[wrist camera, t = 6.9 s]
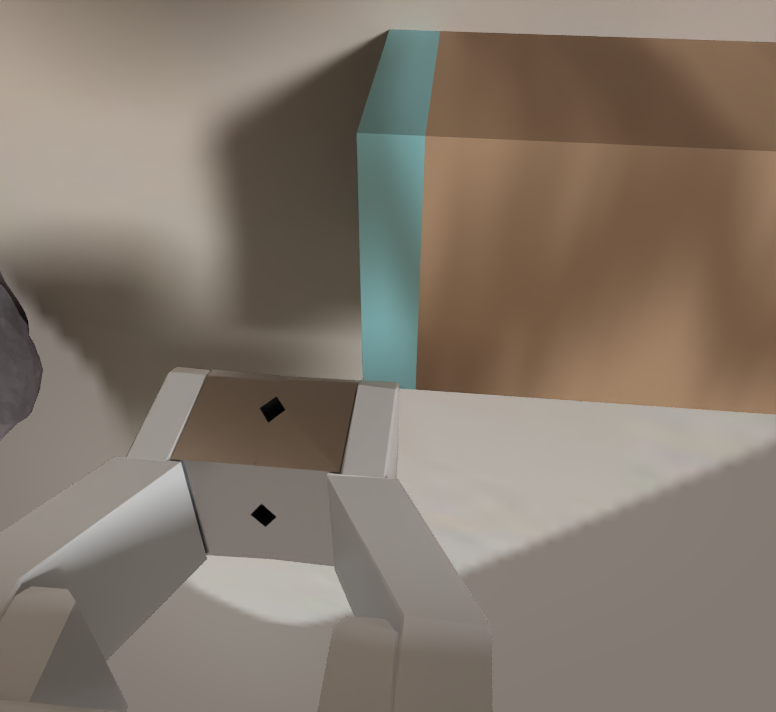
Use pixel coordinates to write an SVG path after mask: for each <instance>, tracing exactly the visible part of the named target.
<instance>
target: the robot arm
mask: <svg viewBox="0 0 776 712" xmlns="http://www.w3.org/2000/svg"><path fill="white" fill-rule="evenodd" d="M399 398H400V389H399V384H398V383H397V382H387V381H368V380H361V381H359V380H343V379H327V378H311V377H295V376H279V375H268V374H257V373H246V372H236V371H225V370H214V369H213V370H205V369H195V368H185V367H175V368H174V369H173V370H172V371H170V372H169V373H168V374H167V376H166V378H165V380H164V382H163V384H162V386H161V388H160V390H159V392H158V394H157V396H156V398H155V400H154V402H153V404H152V406H151V408H150V410H149V412H148V414H147V416H146V418H145V420H144V422H143V424H142V426H141V428H140V430H139V432H138V434H137V436H136V438H135V440H134V442H133V444H132V446H131V447H130V449H129V451H128V453H127V455H126V457H113V458H111V459H110V460H108V461H107V462H106V463H104V464H102V465H101V466H99V467H98V468H96V469H95V470H94V471H92V472H90V473H89V474H87V475H86V476H84V477H83V478H82V479H80V480H78V481H77V482H76V483H74V484H72V485H71V486H69V487H68V488H66V489H65V490H63V491H62V492H60V493H59V494H57V495H56V496H54V497H53V498H51V499H50V500H48V501H47V502H45V503H44V504H42V505H41V506H39V507H38V508H37V509H35V510H34V511H32V512H31V513H29V514H28V515H26V516H25V517H23V518H22V519H20V520H19V521H17V522H16V523H14V524H13V525H11V526H10V527H8V528H7V529H5V530H4V531H2V532H1V533H0V712H127V709H128V704H127V702H126V700H125V698H124V696H123V694H122V692H121V690H120V688H119V686H118V684H117V682H116V680H115V678H114V676H113V674H112V672H111V670H110V668H109V666H108V664H107V662H106V661H107V660H108V659H109V658H110V657H111V656H112V655H113V654H114V653H115V652H116V651H117V650H118V649H119V648H120V646H122V645H123V643H125V642H126V641H127V640H128V639H129V637H130V636H132V635H133V634H134V632H135V631H136V630H137V629H138V628H139V627H140V626H141V625H142V624H143V623H144V622H145V621H146V620H147V619H148V618H149V617H150V616H151V615H152V614H153V613H154V612H155V611H156V610H157V609H158V608H159V607H160V606H161V605H162V604H163V603H164V602H165V601H166V600H167V599H168V598H169V597H170V596H171V595H172V594H173V593H174V592H175V591H176V590H177V589H178V588H179V587H180V586H181V585H182V584H183V583H184V582H185V581H186V580H187V579H188V578H189V577H190V576H191V575H192V574H193V573H194V572H195V571H196V570H197V569H198V567H199V566H200V565H201V564H202V563H203V562H204V561H205V560H206V559H207V556H206V555H216V556H232V557H248V558H264V559H276V560H284V561H293V562H302V563H310V564H319V565H328V566H334V568H335V572H336V574H337V576H338V579H339V581H340V583H341V586H342V588H343V590H344V593H345V595H346V597H347V600H348V602H349V604H350V607H351V609H352V611H353V614H354V616H346V617H344V618H343V619H342V620H341V621H339V622H338V623H337V624H335V625H334V626H333V631H332V636H331V642H330V647H329V652H328V658H327V663H326V668H325V674H324V680H323V685H322V690H321V696H320V701H319V706H318V712H493V710H492V629H491V628H492V627H491V625H490V624H489V622H488V620H487V619H486V617H485V616H484V614H483V612H482V611H481V609H480V608H479V606H478V605H477V603H476V602H475V600H474V598H473V597H472V595H471V594H470V592H469V590H468V589H467V587H466V586H465V584H464V582H463V581H462V579H461V578H460V576H459V575H458V573H457V571H456V570H455V568H454V567H453V565H452V564H451V562H450V560H449V559H448V557H447V556H446V554H445V552H444V551H443V549H442V548H441V546H440V545H439V543H438V541H437V540H436V538H435V537H434V535H433V533H432V532H431V530H430V529H429V527H428V526H427V524H426V522H425V521H424V519H423V518H422V516H421V515H420V513H419V511H418V510H417V508H416V507H415V505H414V503H413V502H412V500H411V499H410V497H409V496H408V494H407V492H406V491H405V489H404V488H403V486H402V484H401V483H400V481H399V480H398V479H397V461H398V440H399Z"/></svg>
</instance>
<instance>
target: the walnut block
mask: <svg viewBox="0 0 776 712" xmlns="http://www.w3.org/2000/svg"><path fill="white" fill-rule="evenodd" d="M357 170H358V209H359V248H360V286H361V325H362V364H363V380H368V381H387V382H397V383H398V384H399V388H402V389H417V390H431V391H446V392H460V393H474V394H489V395H503V396H518V397H532V398H546V399H561V400H575V401H590V402H604V403H618V404H633V405H647V406H662V407H676V408H690V409H705V410H719V411H734V412H748V413H762V414H776V43H775V42H746V41H716V40H686V39H656V38H626V37H596V36H566V35H537V34H507V33H477V32H447V31H417V30H389V33H388V36H387V39H386V42H385V45H384V48H383V52H382V55H381V58H380V61H379V64H378V67H377V70H376V74H375V77H374V80H373V83H372V86H371V89H370V92H369V95H368V99H367V102H366V105H365V108H364V111H363V114H362V117H361V121H360V124H359V127H358V130H357Z"/></svg>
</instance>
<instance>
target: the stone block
mask: <svg viewBox="0 0 776 712" xmlns="http://www.w3.org/2000/svg"><path fill="white" fill-rule="evenodd" d="M42 371H43V369H42V365H41V361H40V357H39V355H38V353H37V350H36V348H35V345H34V343H33V341H32V340H31V338H30V336H29V325H28V319H27V316H26V313H25V311H24V309H23V308H22V306H21V304H20V303H19V301H18V300H17V298H16V297H15V295H14V294H13V292H12V291H11V289H10V288H9V286H8V285H7V283H6V282H5V280H4V278H3V276H2V274H1V271H0V440H1V439H2V438H3V437H4V436H5V435H6V434H7V433H8V432H9V431H10V430H11V429H12V428H13V427H14V426H15V425H16V424H17V423H19V422H20V421H22V420H24V419H25V418H27V417H28V416H29V414H30V413H31V412H32V409H33V407H34V404H35V401H36V398H37V396H38V393H39V390H40V384H41V377H42Z"/></svg>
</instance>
